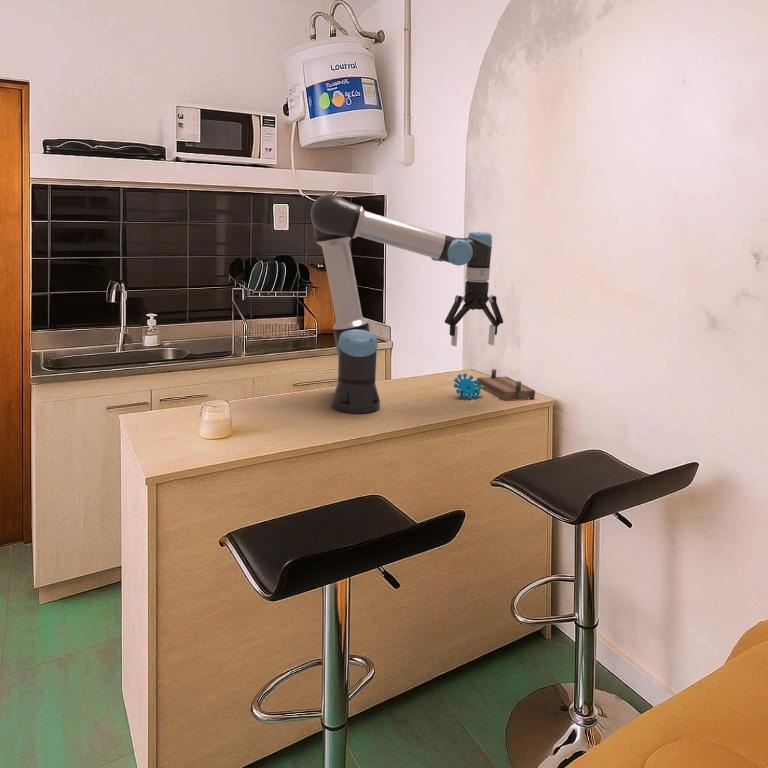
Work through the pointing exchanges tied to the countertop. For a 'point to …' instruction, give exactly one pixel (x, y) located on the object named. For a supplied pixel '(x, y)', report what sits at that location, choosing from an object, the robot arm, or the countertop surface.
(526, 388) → the stand
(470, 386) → the blue spiky virus toy
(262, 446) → the countertop surface
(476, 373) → the countertop surface
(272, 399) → the countertop surface
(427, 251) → the robot arm
